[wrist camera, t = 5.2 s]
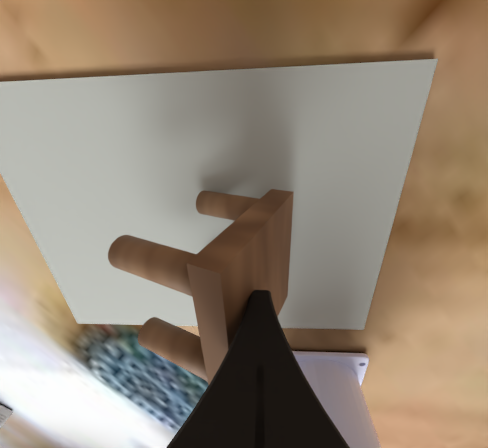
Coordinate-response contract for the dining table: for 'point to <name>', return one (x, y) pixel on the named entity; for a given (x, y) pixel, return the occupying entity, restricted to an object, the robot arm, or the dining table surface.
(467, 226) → the dining table surface
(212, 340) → the stool
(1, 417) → the coffee box
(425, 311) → the dining table surface
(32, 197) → the mat
